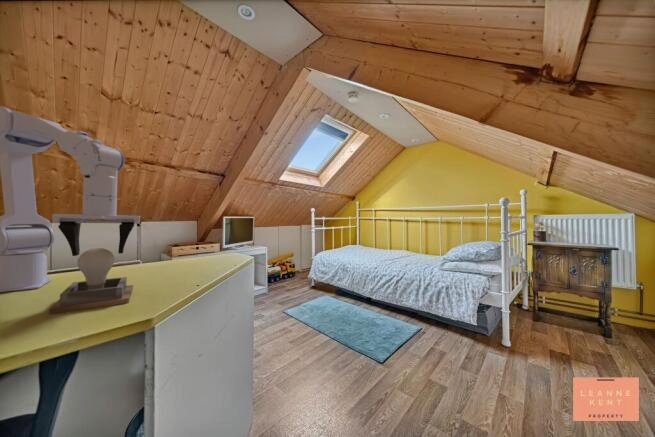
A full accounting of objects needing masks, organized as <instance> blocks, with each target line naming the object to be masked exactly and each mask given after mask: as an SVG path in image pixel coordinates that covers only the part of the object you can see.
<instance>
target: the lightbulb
mask: <svg viewBox="0 0 655 437" xmlns="http://www.w3.org/2000/svg"><path fill="white" fill-rule="evenodd" d="M115 260H116V259H115V256H114V254H113V252H112V251H110V250H109V249H106V248H103V247H94V248H90V249H87V250H85V251H83V252H82V253H81V254H79V257H78V259H77V261H76V262H77V263H76V264H77V268H78V269H79V271H80V272H81V273H82V274H83V276H84V277H85V281H86V284H87V285H88V290H92V289H101V288H104V283H105V282H106V279H107V276H108V274H109V272H110V270H111V269H112V267H113V266H114V264H115Z"/></svg>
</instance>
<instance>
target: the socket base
mask: <svg viewBox="0 0 655 437" xmlns="http://www.w3.org/2000/svg"><path fill="white" fill-rule="evenodd" d="M127 281H128V280H127V276H124V277H123V276H122V277H114V278H106V282H105V283H104V288H101V289H92V290H88V285H87V284H86V280H84V281H83V280H82V281H75V282H72V283H71V284H70V285H69V286H67V288H65V289H64V290H63V291H61V293H60V294H59V299H58V300H57V301H56V302H55V303H54V304H53V305H52V306H51V307H50V308H49V309H48V315H53V314H60V313H68V312H72V311H73V312H74V311H81V310H87V309H93V308H102V307H107V306H115V305H122V304H129V302H130V300H131V297H132V293H133V290H134V285H132V284H130V285H129V284H127Z"/></svg>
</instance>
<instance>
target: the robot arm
mask: <svg viewBox="0 0 655 437" xmlns="http://www.w3.org/2000/svg"><path fill="white" fill-rule="evenodd" d="M89 135H90V134H89V133H88V132H86V131H82V130H78V129H77V130H67V129H66V128H64V127H62V126H61V124H60V123H59V122H55V121H52V120H49V119H44V118H41V117H37V116H34V115H30V114H27V113H24V112H20V111H17V110H13V109H10V108H8V107H5V106H0V177H1V178H0V180H1V186H2V187H1V188H2V198H3V207H4V214H2V215H1V216H0V293H3V292H5V293H6V292H12V291H13V292H14V291H23V290H33V289H39V288H41V287H43V286H44V285H45V284H46V283H48V282H50V281H51V280H53V277H48V256H47V255H46V253H45V252H48V250H49V248H51V247H52V246H53V244H54V243H55V240H56V234H55V232H54V230H53V228H52V224H59V225H58V229H59V230H60V232H61V234H63V236H64V238H65V239H66V240H67V242H68V245H69V247H70V252H71V255H72V257H76V256H80V232H81V231H80V230H81V226H82V224H119V226H118V227H119V228H118V229H119V243H118V254H123V253H124V251H125V245H126V242H127V240H128V238H129V236H130V234H131V232H132V230H133V228H134V227H135V225H139V224H140V223H141V220H140V219H141V216H140V215H123V214H121V215H118V214H117V211H118V210H117V209H118V208H117V207H118V173H119V172H120V171H121V170H122V169H123V167H124V165H125V156H124V153H123V152H122V151H121V150H120V149H119V148H118V147H111V146H106V145H105V144H103V141H101V140H99V139H96V138H92V137H90V136H89ZM56 142H57V145H58V147H59V148H60V150H62V151H63V152H64V153H66V154H68V155H70V156H71V157H74V158H75V159H76V162H77V164H78V165H79V172H80V174H81V175H83V181H82V183H83V184H82V185H83V186H82V189H83V190H82V213H81V214H80V213H79V214H73V213H71V214H70V213H69V214H68V213H63V214H62V213H52V217H51V218H52V219H51V220H52V221H51V220H49V219H47V218H45V217H43V216H41V215H40V214H38V208H37V199H36V198H37V197H36V190H35V179H34V167H33V157H32V156H33V155H34V154H36V153H37V154H38V153H44V151H46V150H48V148H50V147H52V146H53V145H54V144H55V143H56ZM51 222H52V224H51Z"/></svg>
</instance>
